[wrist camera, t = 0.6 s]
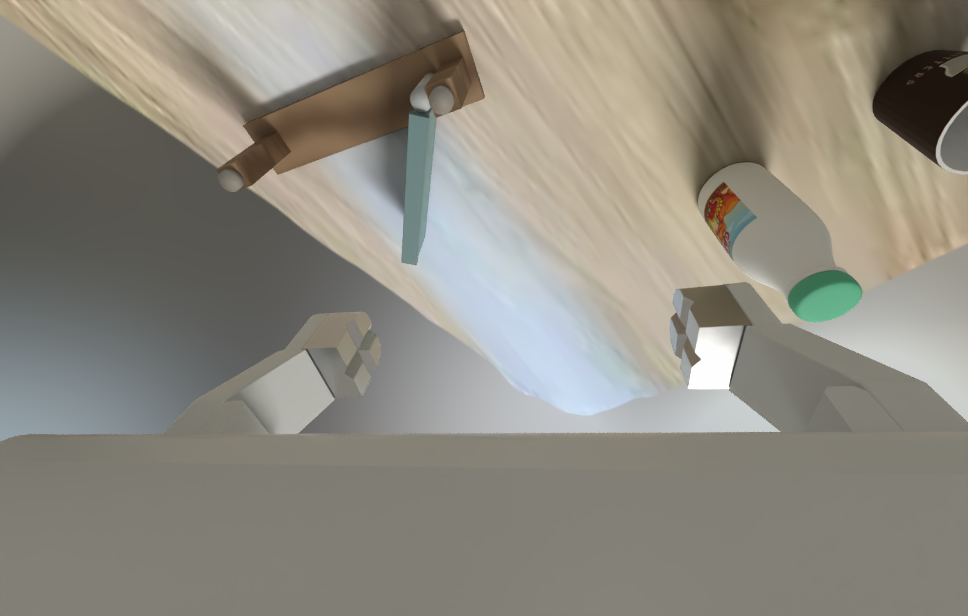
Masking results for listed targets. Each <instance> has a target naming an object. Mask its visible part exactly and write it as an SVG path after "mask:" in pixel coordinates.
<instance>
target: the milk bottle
mask: <svg viewBox="0 0 968 616" xmlns="http://www.w3.org/2000/svg"><path fill="white" fill-rule="evenodd" d="M698 209H699V212H700V214H701V215H702V217H703V218H704V220H705V221H706V223H707V224H708V226H709V227H710V229H711V230H712V232H713V233H714V235H715V236H716V237H717V239H718V240H719V242H720V243H721V245H722V246H723V247H724V249H725V250H726V252H727V253H728V254H729V256H730V257H731V259H732V260H733V261H734V262H735V264H736V265H737V266H738V267H739V268H740V269H741V270H742V271H743V272H744V273H745V274H746V275H747V276H749V277H750V278H752V279H753V280H755V281H757V282H759V283H761V284H764V285H766V286H769V287H772V288H774V289H776V290H778V291H780V292H781V293H783V294H784V299H785V301H786V303H787V304H789V306H790V308H791V309H792V311H793V312H794V313H795V314H796V316H798V317H799V318H800V319H802V320H804V321H808V322H822V321H828V320H831V319H834V318H837V317H839V316H841V315H843V314H845V313H847V312H848V311H850V310H851V309H852V308H853V307H855V305H856V304H857V303H858V302H859V301H860V299H861V297H862V289H861V287H860V285H859V284H858V282H857V281H856V280H855V279H854V278H853V277H852V276H850V275H849V274H848V273H847V272H846V270H844V269H843V268H841V267H837V266H836V264H835V262H834V259H833V254H832V242H831V237H830V234H829V232H828V230H827V228H826V226H825V224H824V223H823V222H822V220H821V219H820V218H819V217H818V216H817V215H816V214H815V213H814V212H813V211H812V210H811V209H810V208H809V207H808V206H807V205H806V204H805V203H804V202H803V201H802V200H801V199H800V198H799V197H797V196H796V195H795V194H794V193H793V192H792V191H791V190H790V189H789V188H787V187H786V186H785V185H784V184H783V183H782V182H781V181H779V180H778V179H777V178H776V177H775V176H774V175H773V174H771V173H770V172H769V171H768V170H767V169H765V168H764V167H763V166H761V165H759V164H756V163H751V162H742V163H736V164H732V165H729V166H727V167H725V168H723V169H721V170H719V171H718V172H716V173H715V174H714V175H713V176H712V177H710V178H709V179H708V181H707V182H706V183H705V184H704V186H703V188H702V189H701V192H700V194H699V198H698Z"/></svg>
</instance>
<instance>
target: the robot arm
mask: <svg viewBox="0 0 968 616" xmlns="http://www.w3.org/2000/svg"><path fill="white" fill-rule="evenodd" d="M673 305H674V308H675V310H676V313H675V314H674V315H673V316H672V317H671V321H670V340H671V344H672V348H673V351H674V353H675V355H676V356H678V357H679V358H681V366H680V369H681V371H682V374H683V376H684V378H685V381H686V383H687V385H688V388H689V389H691V388H692V389H729V391H731V392H732V393H733V394H734V395H736V396H737V397H738V398H739V399H741V400H742V401H743V402H744V403H746V404H747V405H748V406H750V407H751V408H752V409H753V410H754V411H756V412H757V413H758V414H759V415H761V416H762V417H763V418H764V419H766V420H767V421H768V422H769V423H771V424H772V425H773V426H774V427H776V428H777V429H778V430H779V431H781V432H721V433H720V432H718V433H717V432H711V433H710V432H707V433H428V434H427V433H422V434H421V433H418V434H417V433H415V434H414V433H413V434H412V433H411V434H298V433H299V432H300V431H301V430H302V429H303V428H304V427H305V426H306V425H307V424H309V423H310V422H311V421H312V420H313V419H314V418H315V417H316V416H317V415H318V414H319V413H321V412H322V411H323V410H324V409H325V408H326V407H327V406H328V405H329V404H330V403H331V402H332V401H334V398H346V397H362V396H363V394H364V392H365V390H366V388H367V386H368V384H369V382H370V380H371V377H370V375H369V373H370V372H371V371H372V370H374V369H375V368H376V367H377V365H378V363H379V361H380V356H381V347H380V342H379V339H378V337H377V335H376V334H374V333H373V332H372V331H370V327H371V324H372V323H371V321H370V319H369V317H368V315H367V314H366V313H364V312H346V313H332V314H330V313H327V314H316V315H313V316H311V318H310V319H309V320H308V321H307V322H306V324H305V325H304V326H303V327H302V329H301V330H300V331H299V332H298V334H297V335H296V336H295V337H294V339H293V340H292V341H291V342H290V344H289V345H288V346H287V347H286V349H285V350H284V351H278V352H276V353H275V354H273V355H272V356H270V357H268V358H266V359H265V360H263V361H261V362H260V363H258V364H256V365H254V366H252V367H251V368H249V369H247V370H246V371H244V372H242V373H241V374H239V375H237V376H235V377H234V378H232V379H230V380H229V381H227V382H225V383H224V384H222V385H220V386H219V387H217V388H215V389H213V390H212V391H210V392H208V393H207V394H205V395H203V396H201V397H200V398H198V399H196V400H195V401H194V402H193V403H192V404H191V405H190V406H189V407H188V408H187V409H186V410H185V411H184V413H183V414H182V415H181V416H180V417H179V418H178V419H177V420H176V421H175V422H174V423H173V424H172V425H171V427H170V428H169V429H168V430H167V431H166V432H165V433H164V434H123V435H122V434H119V435H118V434H114V435H113V434H110V435H109V434H103V435H102V434H99V435H98V434H94V435H93V434H92V435H91V434H88V435H87V434H85V435H84V434H83V435H82V434H81V435H55V434H50V435H49V434H28V435H20V436H15V437H11V438H8V439H6V440H3V441H0V616H968V422H967V421H966V420H965V419H964V418H963V417H962V416H961V415H960V414H958V413H957V412H956V411H955V410H954V409H953V408H952V407H951V406H950V405H949V404H948V403H947V402H946V401H945V400H944V399H943V398H942V397H940V396H939V395H938V394H937V393H936V392H935V391H934V390H933V389H932V388H931V387H930V386H929V385H928V384H927V383H925V382H923V381H920V380H918V379H916V378H914V377H911V376H909V375H907V374H904V373H902V372H900V371H898V370H895V369H893V368H891V367H888V366H886V365H884V364H882V363H879V362H877V361H875V360H872V359H870V358H868V357H865V356H863V355H861V354H859V353H856V352H854V351H852V350H849V349H847V348H845V347H843V346H840V345H838V344H836V343H833V342H831V341H829V340H827V339H824V338H822V337H820V336H817V335H815V334H813V333H810V332H808V331H806V330H803V329H801V328H799V327H797V326H794V325H792V324H782V323H781V322H780V320H779V319H778V318H777V317H776V315H775V314H774V313H773V312H772V311H771V309H770V308H769V307H768V306H767V304H766V303H765V302H764V301H763V299H762V298H761V297H760V296H759V294H758V293H757V292H756V291H755V289H754V288H753V287H752V286H751V285H750V284H749V283H746V282H742V283H733V284H723V285H717V286H705V287H694V288H683V289H676V290H675V293H674V297H673Z"/></svg>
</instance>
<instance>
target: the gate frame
mask: <svg viewBox="0 0 968 616" xmlns="http://www.w3.org/2000/svg"><path fill="white" fill-rule="evenodd" d="M428 73H435V74H434V75H433V76H432V78H431V79H430V80H429V82H428V83H427V84H426V86H425V87H424V90H425V93H426V95H427V98H428V100H429V105H430V107H431V109H432V110H433V112H434V115H435V117H439V116H442V115H445V114H447V113H450V112H453V111H455V110H458V109H461V108H462V107H463V106H465V105H468V104H471V103H474V102H476V101H479V100H482V99H484V97H485V95H484V92H483V89H482V86H481V83H480V79H479V76H478V73H477V70H476V67H475V63H474V60H473V57H472V54H471V51H470V47H469V44H468V41H467V38H466V35H465V31H462V32H459V33H457V34H455V35H452V36H450V37H448V38H445V39H443V40H441V41H438V42H436V43H434V44H431V45H429V46H427V47H424V48H422V49H420V50H417V51H415V52H413V53H410V54H408V55H406V56H403V57H401V58H398V59H396V60H394V61H391V62H389V63H387V64H384V65H382V66H380V67H377V68H375V69H373V70H370V71H368V72H366V73H363V74H361V75H359V76H356V77H354V78H352V79H349V80H347V81H345V82H342V83H340V84H338V85H335V86H333V87H330V88H328V89H326V90H323V91H321V92H319V93H316V94H314V95H312V96H309V97H307V98H305V99H302V100H300V101H298V102H295V103H293V104H291V105H288V106H286V107H284V108H281V109H279V110H277V111H274V112H272V113H269V114H267V115H265V116H262V117H260V118H258V119H255V120H253V121H251V122H248V123H246V124H245V125H243V127H244V128H245V129H246V131H247V132H248V134H249V135H250V136H251V138H252V139H253V141H254V142H255V143H254V144H252V145H251V146H250V147H248V148H247V149H245V150H244V151H242V152H241V153H240V154H238V155H237V156H235V157H234V158H232V159H231V160H230V161H228V162H227V163H225V164H224V165H222V166H221V167H220V168H218V169H217V170H216V171H217V172H218V173H219V174H218V182H219V183H220V185H221V186H222V187H223V188H224V189H226V190H228V191H231V192H235V191H237V190H240V189H243V188H246V187H249V186H251V185H253V184H254V183H255V182H256V181H258V180H259V179H260V178H261V177H262V176H263V175H265V174H266V173H267V172H268V171H269V170H270V169H272V168H273V169H274V170H275V172H276V173H277V174H281V173H284V172H286V171H289V170H292V169H294V168H297V167H300V166H303V165H305V164H308V163H311V162H313V161H316V160H319V159H322V158H324V157H327V156H330V155H332V154H335V153H338V152H341V151H343V150H346V149H349V148H351V147H354V146H357V145H360V144H362V143H365V142H368V141H370V140H373V139H376V138H379V137H381V136H384V135H387V134H389V133H392V132H395V131H398V130H400V129H403V128H406V127H408V125H409V113H410V112H413V110H414V108H413V106H412V104H411V102H410V95H411V93H412V91H413V90H414V89H415V87H416V86H417V85H418V84H419V83H420V81H421V80H422V79H423V78H424V76H425V75H426V74H428Z"/></svg>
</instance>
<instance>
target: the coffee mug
mask: <svg viewBox="0 0 968 616" xmlns="http://www.w3.org/2000/svg"><path fill="white" fill-rule="evenodd" d="M873 113H874V116H875V117H876V118H877V119H878V120H879V121H880V122H881V123H883V124H884V125H885V126H887V127H888V128H889V129H891V130H892V131H893V132H895V133H896V134H897V135H899V136H900V137H901V138H903V139H904V140H905V141H907V142H908V143H909V144H911V145H912V146H913V147H915V148H916V149H917V150H918V151H920V152H921V153H922V154H924V155H925V156H926V157H928V158H929V159H930V160H932V161H933V162H934V163H936V164H937V165H938V166H940V167H941V168H942V169H944V170H946V171H948V172H950V173H954V174H959V175H968V52H963V51H944V50H936V51H930V52H925V53H923V54H920V55H917V56H915V57H913V58H912V59H910V60H908V61H906V62H905V63H903V64H902V65H900V66H899V67H898V68H897V69H896V70H894V71H893V72H892V73H891V74H890V75H889V76H888V77H887V78H886V80H885V81H884V82H883V83H882V85H881V86H880V88H879V89H878V91H877V93H876V95H875V98H874V101H873Z"/></svg>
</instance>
